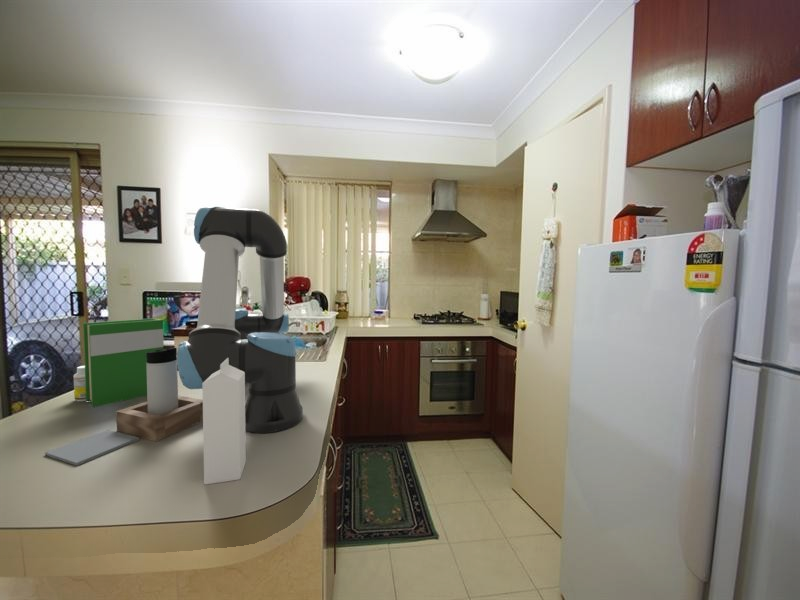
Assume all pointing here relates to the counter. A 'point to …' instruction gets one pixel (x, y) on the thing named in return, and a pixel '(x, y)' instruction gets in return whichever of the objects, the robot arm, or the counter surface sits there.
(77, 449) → the slate mat
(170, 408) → the travel mug
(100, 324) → the hardback book
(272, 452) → the counter surface
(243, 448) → the milk
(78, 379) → the supplement bottle
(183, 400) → the cup stand
